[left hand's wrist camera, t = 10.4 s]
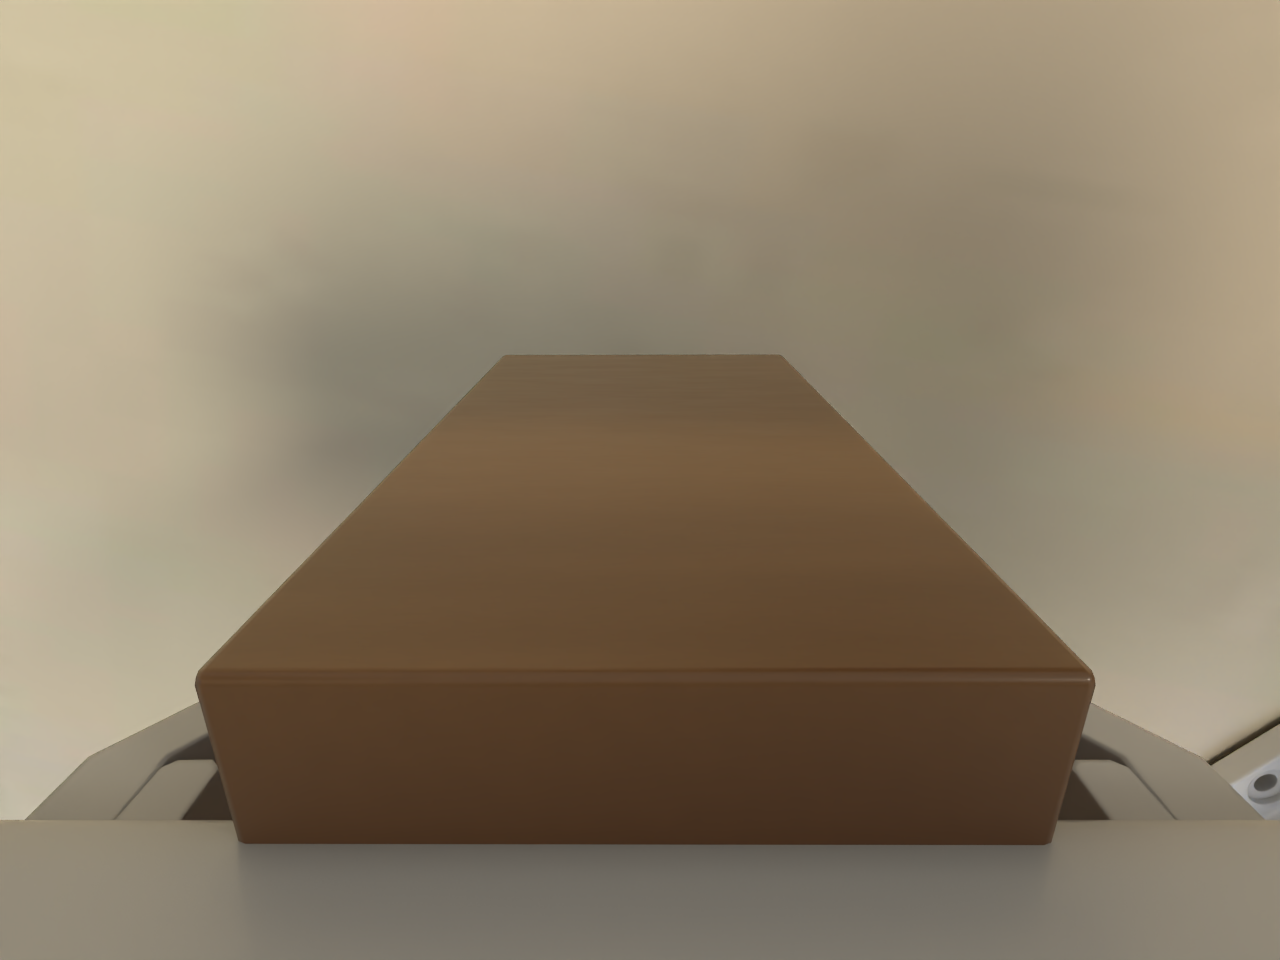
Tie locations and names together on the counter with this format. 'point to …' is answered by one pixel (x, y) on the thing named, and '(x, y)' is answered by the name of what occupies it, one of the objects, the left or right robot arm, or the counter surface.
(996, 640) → the box
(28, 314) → the counter surface
